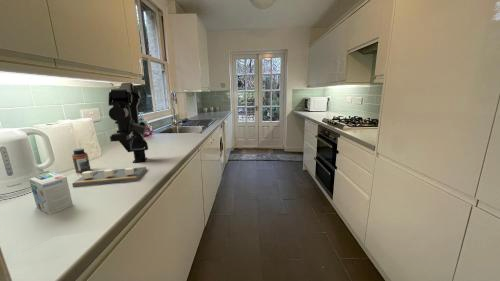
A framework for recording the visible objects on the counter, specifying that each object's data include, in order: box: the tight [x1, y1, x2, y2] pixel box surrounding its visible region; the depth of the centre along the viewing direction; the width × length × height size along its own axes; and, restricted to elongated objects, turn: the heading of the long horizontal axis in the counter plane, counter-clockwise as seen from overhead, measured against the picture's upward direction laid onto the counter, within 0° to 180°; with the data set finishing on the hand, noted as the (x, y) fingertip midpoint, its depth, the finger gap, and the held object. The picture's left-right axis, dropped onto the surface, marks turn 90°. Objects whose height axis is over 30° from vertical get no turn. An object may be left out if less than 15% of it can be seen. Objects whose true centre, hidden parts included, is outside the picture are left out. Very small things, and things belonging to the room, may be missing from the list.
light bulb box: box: [28, 171, 74, 215], centre depth 70 cm, size 11×7×11 cm, turn 62°
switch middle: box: [104, 168, 114, 177], centre depth 91 cm, size 2×3×3 cm, turn 101°
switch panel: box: [71, 166, 147, 188], centre depth 95 cm, size 14×25×2 cm, turn 101°
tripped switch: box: [125, 167, 135, 175], centre depth 93 cm, size 2×3×3 cm, turn 101°
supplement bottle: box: [71, 148, 91, 173], centre depth 102 cm, size 6×6×11 cm
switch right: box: [81, 170, 93, 179], centre depth 90 cm, size 2×3×3 cm, turn 101°
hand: (129, 151), depth 94 cm, fingers closed
